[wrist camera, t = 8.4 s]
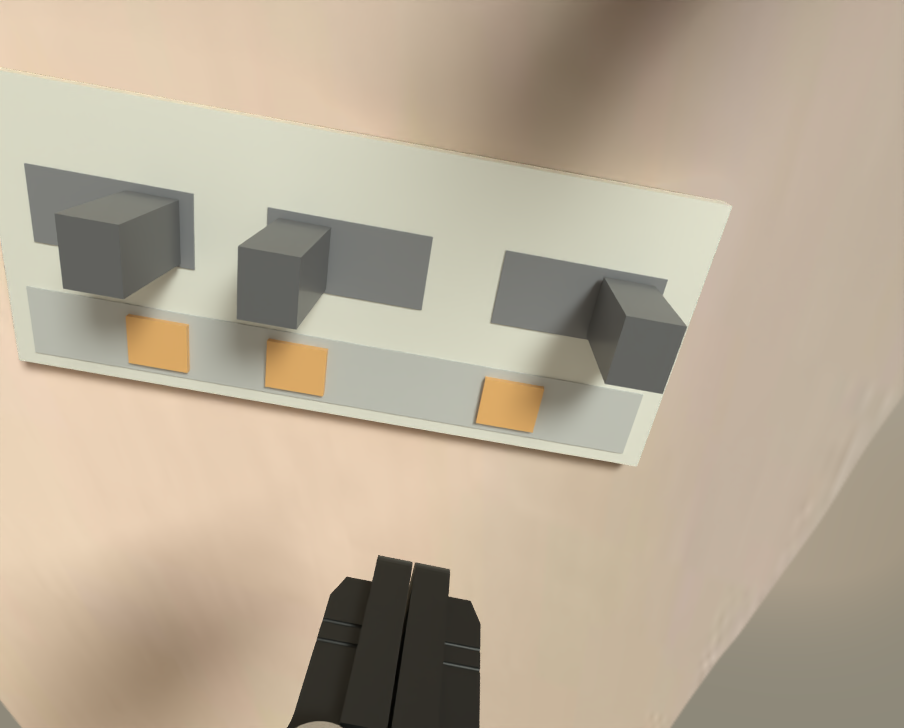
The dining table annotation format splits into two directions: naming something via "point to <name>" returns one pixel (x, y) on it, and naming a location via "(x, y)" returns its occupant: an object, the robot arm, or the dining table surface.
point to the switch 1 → (118, 243)
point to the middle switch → (282, 272)
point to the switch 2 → (634, 335)
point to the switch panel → (346, 267)
